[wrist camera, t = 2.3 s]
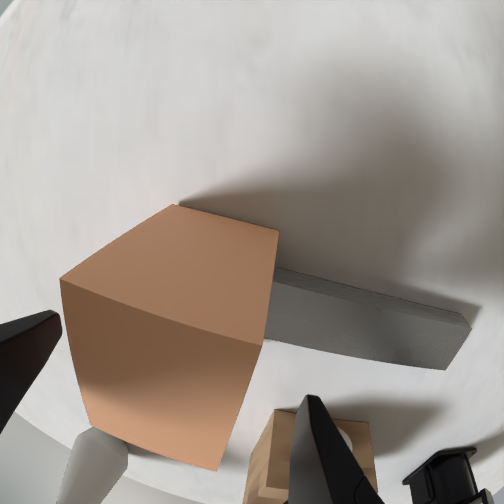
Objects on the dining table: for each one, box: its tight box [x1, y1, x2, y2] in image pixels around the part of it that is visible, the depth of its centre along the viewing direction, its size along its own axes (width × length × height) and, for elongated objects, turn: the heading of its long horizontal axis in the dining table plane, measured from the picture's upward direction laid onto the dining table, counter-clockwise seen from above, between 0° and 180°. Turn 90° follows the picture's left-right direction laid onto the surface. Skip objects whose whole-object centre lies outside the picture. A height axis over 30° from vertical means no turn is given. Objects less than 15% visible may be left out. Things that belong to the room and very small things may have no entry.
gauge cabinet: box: [243, 410, 378, 504], centre depth 16 cm, size 7×7×6 cm
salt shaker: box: [56, 427, 128, 504], centre depth 17 cm, size 6×6×13 cm
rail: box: [264, 267, 472, 370], centre depth 14 cm, size 18×3×2 cm, turn 77°
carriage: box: [59, 204, 279, 471], centre depth 11 cm, size 5×7×8 cm
